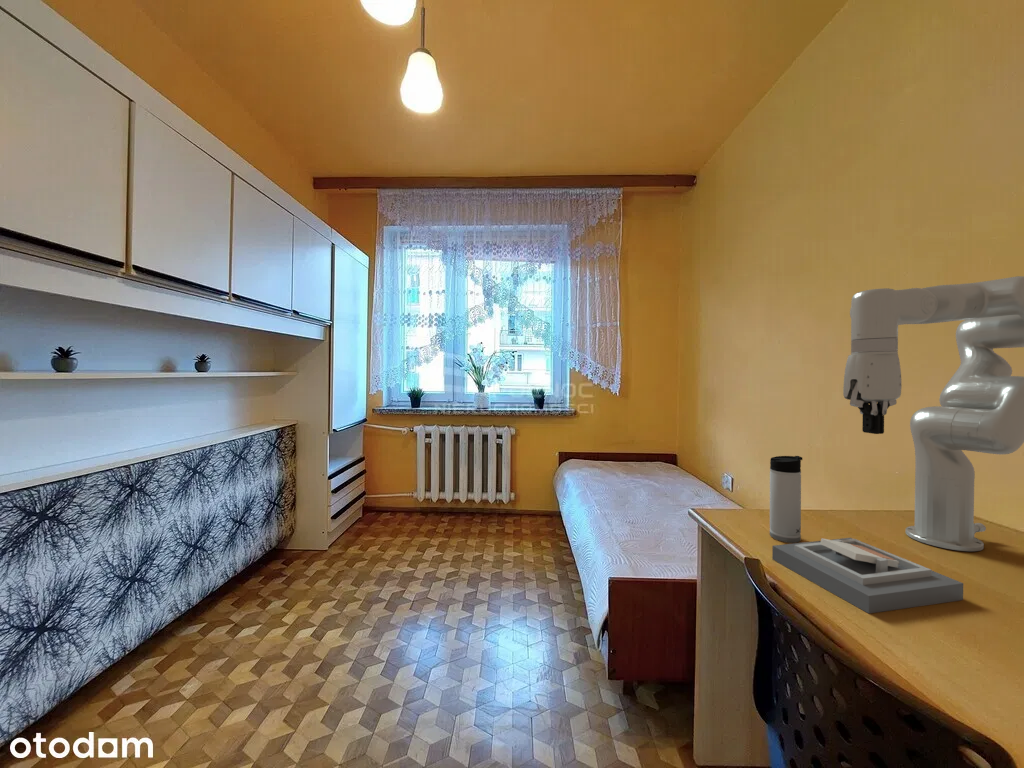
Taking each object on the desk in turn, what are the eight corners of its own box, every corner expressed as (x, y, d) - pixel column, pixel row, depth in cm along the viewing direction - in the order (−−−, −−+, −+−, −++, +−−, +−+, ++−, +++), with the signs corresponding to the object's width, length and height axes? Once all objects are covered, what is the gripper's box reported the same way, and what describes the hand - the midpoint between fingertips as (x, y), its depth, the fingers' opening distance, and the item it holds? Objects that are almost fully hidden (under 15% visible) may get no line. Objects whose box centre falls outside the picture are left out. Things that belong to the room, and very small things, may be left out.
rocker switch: (860, 551, 84) (861, 545, 84) (897, 567, 77) (899, 561, 77) (820, 544, 82) (821, 537, 82) (854, 559, 75) (856, 552, 75)
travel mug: (807, 544, 95) (808, 459, 94) (776, 542, 96) (776, 458, 96) (794, 533, 101) (795, 453, 100) (765, 531, 102) (765, 453, 102)
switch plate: (850, 550, 91) (850, 526, 91) (963, 599, 71) (963, 568, 71) (772, 559, 88) (772, 533, 87) (868, 613, 68) (868, 580, 68)
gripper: (883, 348, 92) (882, 429, 93) (827, 349, 89) (827, 432, 90) (922, 346, 85) (921, 434, 85) (862, 347, 82) (862, 437, 83)
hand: (873, 432), depth 88 cm, fingers closed
